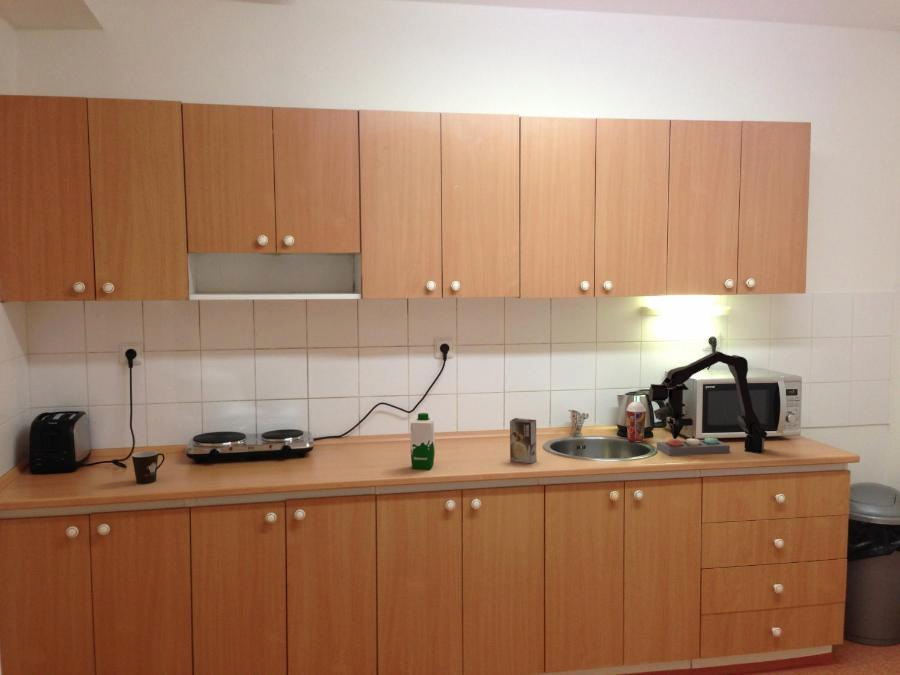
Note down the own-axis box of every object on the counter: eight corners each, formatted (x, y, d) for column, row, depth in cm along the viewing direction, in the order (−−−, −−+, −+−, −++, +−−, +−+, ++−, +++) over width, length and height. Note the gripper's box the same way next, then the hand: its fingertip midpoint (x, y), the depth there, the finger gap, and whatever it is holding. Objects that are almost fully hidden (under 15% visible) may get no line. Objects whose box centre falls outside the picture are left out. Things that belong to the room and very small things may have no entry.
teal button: (719, 445, 287) (720, 440, 286) (708, 446, 286) (708, 440, 286) (713, 442, 292) (713, 437, 291) (702, 443, 291) (702, 437, 291)
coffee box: (537, 460, 276) (537, 419, 274) (531, 463, 270) (531, 422, 269) (515, 457, 280) (515, 417, 279) (509, 461, 274) (509, 420, 273)
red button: (683, 447, 284) (683, 441, 284) (671, 447, 283) (671, 442, 283) (677, 444, 289) (677, 439, 289) (665, 444, 288) (665, 439, 288)
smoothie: (646, 443, 301) (647, 397, 300) (626, 442, 303) (627, 396, 301) (644, 438, 310) (645, 393, 308) (624, 438, 311) (625, 393, 309)
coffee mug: (136, 486, 245) (134, 458, 244) (130, 480, 252) (129, 453, 251) (171, 480, 252) (169, 453, 251) (164, 475, 259) (163, 448, 258)
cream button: (701, 446, 285) (701, 441, 285) (690, 446, 285) (690, 441, 284) (695, 443, 290) (695, 438, 290) (684, 444, 290) (684, 438, 289)
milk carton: (436, 464, 270) (435, 413, 269) (432, 470, 261) (431, 417, 260) (413, 463, 272) (413, 412, 270) (409, 470, 263) (408, 417, 261)
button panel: (729, 452, 284) (729, 445, 284) (669, 455, 280) (669, 448, 280) (715, 446, 295) (715, 439, 295) (656, 449, 291) (656, 442, 291)
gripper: (646, 397, 292) (646, 434, 294) (667, 405, 274) (666, 445, 275) (671, 396, 294) (671, 433, 296) (694, 404, 276) (693, 443, 277)
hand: (674, 438), depth 286 cm, fingers closed
